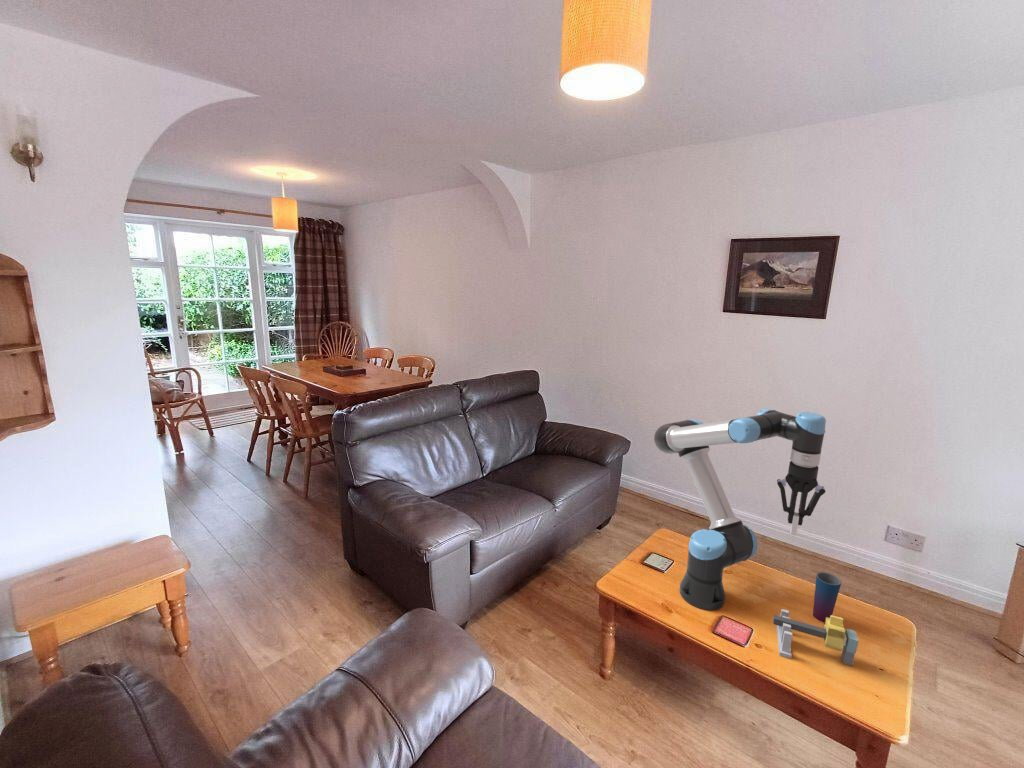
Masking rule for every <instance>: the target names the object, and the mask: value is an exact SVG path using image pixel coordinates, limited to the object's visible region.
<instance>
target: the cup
mask: <svg viewBox="0 0 1024 768" xmlns="http://www.w3.org/2000/svg"><path fill="white" fill-rule="evenodd" d="M841 585H842V579H841V578H839V577H838V576H837V575H835V574H833V573H830V572H826V571H818V572H817V573H816V575H815V586H814V588H815V589H814V596H813V610H812V616H813V618H814V619H816V620H817V621H819V622H821V623H824V624H825V620H826V617H828V618H830V616H831V615H833V614H834V610H835V606H836V603H837V599H838V596H839V593H840V589H841V587H842V586H841Z"/></svg>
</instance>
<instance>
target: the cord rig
mask: <svg viewBox="0 0 1024 768" xmlns="http://www.w3.org/2000/svg"><path fill="white" fill-rule="evenodd" d="M789 614H790V611H789V610H787V609H783V608H780V614H779V615H777V614H773V617H772V623H773V625H774V626H776V627H775V628H776V636H777V637H776V638H777V644H778V655H779V656H781V657H783V658H787V659H790V660H791V659H792V649H791V645H792V639H793V632H791V631H792V630H793V631H795V632H799V633H802V634H807V635H810V636H814V637H818V638H821V639H823V638H824V639H826V636H827V631H826V629H824V627H820V626H817V625H813V624H809V623H806V622H803V621H798V620H796V619H792V618H791V617H789ZM824 639H823V640H824ZM858 645H859V639H858V636H857V632H856V630H853V629H851V628H845V637H844V642H843V647H842V651H841V660H842V663H843V664H845V665H847V666H853V665H854V661H855V656H856V654H857V651H858V647H859V646H858Z"/></svg>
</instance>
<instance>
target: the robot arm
mask: <svg viewBox="0 0 1024 768" xmlns="http://www.w3.org/2000/svg"><path fill="white" fill-rule="evenodd" d="M826 423H827V420H826V418H825V416H823V415H821V414H819V413H815V412H809V411H801V412H798V413H797V414H796V416H795V415H792V414H788V413H784V412H780V411H778V410H776V409H768V408H763V409H760V411H759V412H757V413H756V415H752V416H747V417H739V418H735V419H734V418H733V419H728V420H727V419H726V420H720V421H713V422H706V423H704V422H702V421H700V420H698V419H685V420H680V421H675V422H670V423H665V424H662V425H661V426H659V427H658V428H657V429H656V430H655V432H654V437H653V441H654V444H655V446H656V448H657V450H659V451H660V452H663V453H664V454H670V455H671V454H678V456H679V458H680V460H683V461H684V462H685V463H686V465H687V468H688V470H689V472H690V475H691V477H692V480H693V482H694V484H695V487H696V490H697V491H698V493H699V497H700V499H701V501H702V504H703V507H704V508H705V511H706V513H707V515H708V516H707V517H708V518H709V521H710V525H709V529H708V530H707V529H706V528H703V529H699V530H696V531H695V532H693V533H692V534H691V536H690V538H689V542H688V552H687V553H688V554H687V563H686V564H687V565H686V572H685V573H684V575H683V578H682V579H681V581H680V583H679V594H680V596H681V598H682V599H683V600H684V601H685V602H686V603H688V604H690V605H692V606H693V607H696V608H698V609H703V610H709V611H714V610H718V609H720V608H723V607H724V605H725V603H726V591H725V588H724V583H723V575H724V569H725V568H728V567H730V566H733V565H736V564H739V563H741V562H746V561H747V560H749V559H751V558H753V557H754V556H755V554H756V553H757V551H758V546H759V542H758V538H757V536H756V534H755V532H754V530H753V529H752V528H750V527H749V526H748V525H745V524H744V523H743V521H742V519H741V518H739V517H737V516H736V515H735V513H734V511H733V509H732V506H731V505H730V501H729V500H728V498H727V496H726V493H725V490H724V489H723V486H722V483H721V481H720V479H719V477H718V474H717V473H716V469H715V467H714V466H713V463H712V460H711V459H710V457H709V452H710V450H711V448H710V446H718V445H727V444H749V443H754V442H758V441H760V440H766V439H770V438H775V437H779V438H782V439H785V440H789V441H792V446H791V453H790V457H789V460H790V461H789V465H788V471H787V475H786V476H785V477H784V478H782V479H779V478H778V479H777V480H776V484H777V486H778V487H779V491H780V496H781V503H782V510H783V512H785V513H788V515H787V523H788V524H790V528H789V531H790V532H789V533H790V535H792V536H797V534H798V528H799V526H802V525H803V522H804V518H805V517H811V516H812V514H813V512H814V510H815V508H816V506H817V505H818V502H819V500H820V498H821V497H822V496H823V495H824V494H825V493H826V490H825V487H824V486H823V485H822V486H821V485H820V484H819V483H818V473H819V465H820V461H821V454H822V447H823V441H824V437H825V433H826ZM787 485H788V486H789V488H790V489H791V494H790V495H791V496H790V499H789V501H790V502H789V505H788V502H787V495H786V489H785V487H786V486H787ZM812 490H814V493H813V495H812V496H811V498H810V500H809V502H808V504H807V499H808V494H809V493H810V492H811V491H812ZM799 493H800V499H799V505H798V512H795V509H796V505H797V504H796V503H797V500H798V499H797V498H798V495H799ZM806 504H807V506H806Z"/></svg>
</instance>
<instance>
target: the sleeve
mask: <svg viewBox="0 0 1024 768" xmlns="http://www.w3.org/2000/svg"><path fill="white" fill-rule="evenodd" d="M843 623H844V618H843V617H840V616H836V615H833V614H832V615H831V616H830V618H828V617H826V620H825V623H824V626H823V628H824V629H826V631H827V636H826V639H824V638H822V639H823V643H824V646H825V647H826V648H829V649H832V650H835V651H839V652H842V650H843V642H844V637H845V631H846V628H845V627H844V624H843Z"/></svg>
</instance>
